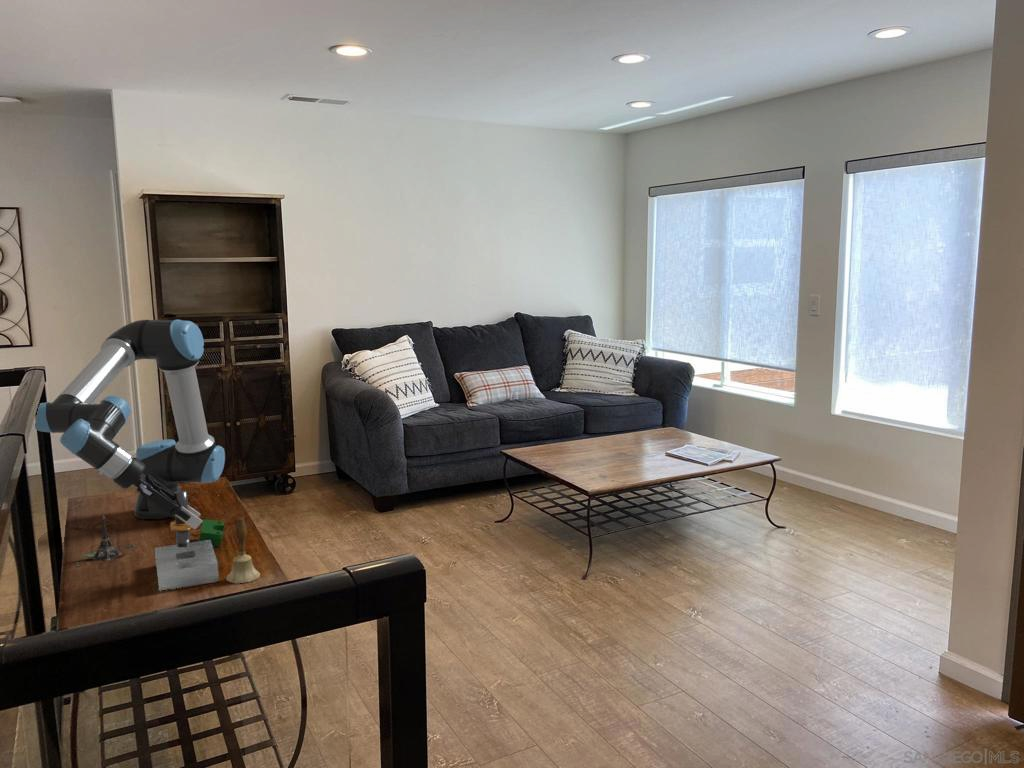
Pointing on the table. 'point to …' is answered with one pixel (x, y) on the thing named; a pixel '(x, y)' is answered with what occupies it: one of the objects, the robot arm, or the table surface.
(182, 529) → the pin
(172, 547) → the hole block
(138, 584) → the table surface
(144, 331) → the robot arm
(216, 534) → the clamp
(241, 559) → the hand bell
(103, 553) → the eiffel tower figurine
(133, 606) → the table surface
